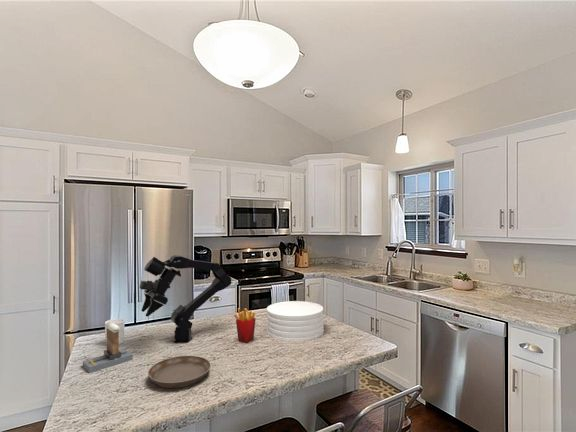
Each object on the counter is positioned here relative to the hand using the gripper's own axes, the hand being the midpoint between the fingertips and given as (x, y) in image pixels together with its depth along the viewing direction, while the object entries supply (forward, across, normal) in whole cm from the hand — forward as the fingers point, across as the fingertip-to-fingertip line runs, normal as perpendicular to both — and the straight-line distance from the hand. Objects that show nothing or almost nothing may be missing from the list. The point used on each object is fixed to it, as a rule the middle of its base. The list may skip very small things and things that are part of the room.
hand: (144, 313), depth 136 cm
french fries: (-8, +19, +41) cm, 46 cm away
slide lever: (+18, +6, -4) cm, 19 cm away
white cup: (+18, -15, 0) cm, 24 cm away
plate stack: (-23, +20, +63) cm, 70 cm away
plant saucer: (+10, +34, +13) cm, 38 cm away
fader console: (+20, +7, -4) cm, 22 cm away
